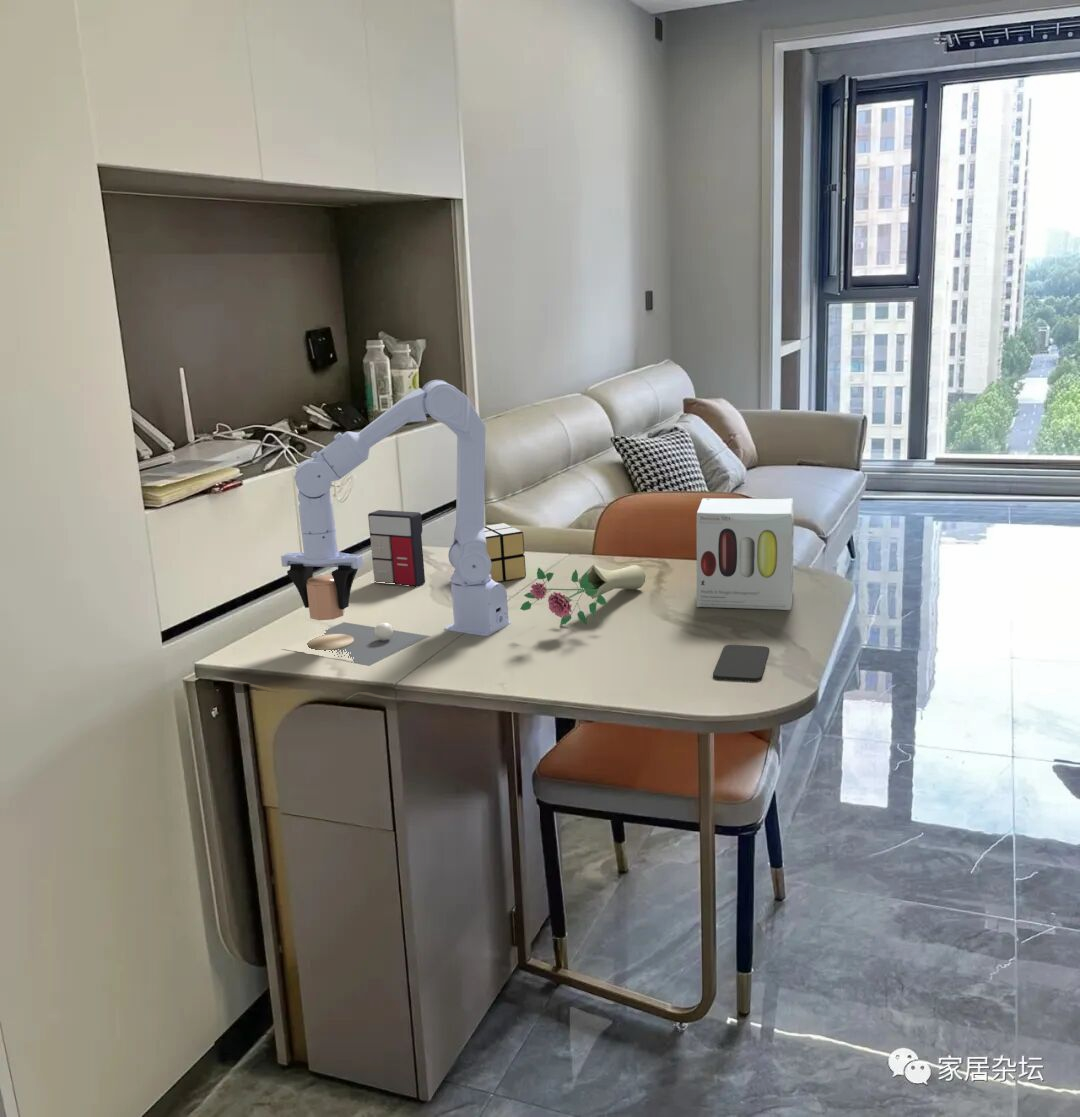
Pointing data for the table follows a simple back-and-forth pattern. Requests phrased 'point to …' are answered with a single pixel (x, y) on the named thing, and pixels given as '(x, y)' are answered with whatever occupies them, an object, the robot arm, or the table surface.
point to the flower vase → (587, 588)
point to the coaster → (330, 642)
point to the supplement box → (745, 553)
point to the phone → (741, 663)
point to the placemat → (372, 642)
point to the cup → (323, 598)
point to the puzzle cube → (505, 552)
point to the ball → (383, 631)
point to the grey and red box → (397, 547)
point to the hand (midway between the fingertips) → (326, 606)
